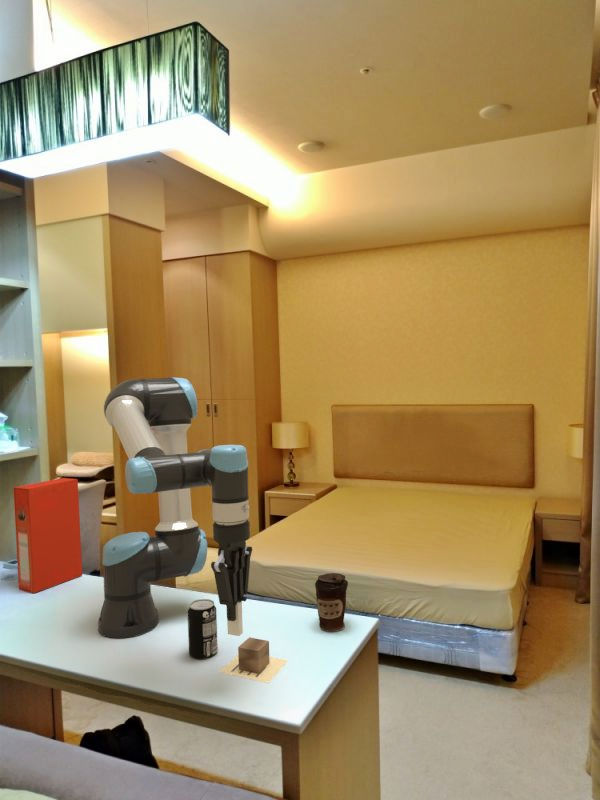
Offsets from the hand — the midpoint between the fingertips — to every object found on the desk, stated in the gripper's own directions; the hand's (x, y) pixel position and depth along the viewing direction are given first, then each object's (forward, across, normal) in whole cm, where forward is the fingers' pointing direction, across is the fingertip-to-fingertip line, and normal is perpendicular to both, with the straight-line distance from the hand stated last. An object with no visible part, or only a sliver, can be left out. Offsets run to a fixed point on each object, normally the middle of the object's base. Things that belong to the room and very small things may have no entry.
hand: (235, 633), depth 118 cm
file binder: (+10, +31, +86) cm, 93 cm away
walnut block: (+11, +8, 0) cm, 14 cm away
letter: (+11, +8, 0) cm, 14 cm away
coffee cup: (+11, +33, -8) cm, 36 cm away
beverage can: (+11, +9, +14) cm, 21 cm away
